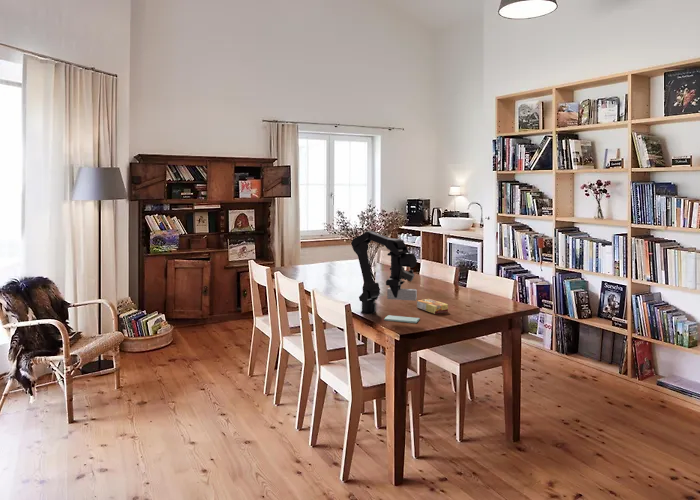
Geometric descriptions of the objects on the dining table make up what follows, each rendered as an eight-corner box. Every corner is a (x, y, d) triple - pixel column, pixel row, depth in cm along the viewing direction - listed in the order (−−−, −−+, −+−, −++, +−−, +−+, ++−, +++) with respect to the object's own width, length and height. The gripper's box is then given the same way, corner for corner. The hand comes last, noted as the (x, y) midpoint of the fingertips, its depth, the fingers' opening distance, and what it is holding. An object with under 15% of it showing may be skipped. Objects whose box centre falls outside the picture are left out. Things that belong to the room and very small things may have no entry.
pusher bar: (387, 299, 264) (387, 288, 263) (388, 297, 267) (388, 287, 266) (415, 300, 260) (415, 290, 259) (416, 299, 263) (416, 289, 262)
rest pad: (384, 320, 263) (384, 318, 263) (388, 316, 270) (388, 315, 270) (416, 323, 258) (416, 321, 258) (419, 319, 265) (419, 318, 264)
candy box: (448, 312, 279) (429, 306, 292) (448, 304, 279) (429, 298, 292) (434, 314, 275) (416, 307, 288) (434, 306, 274) (416, 300, 287)
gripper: (408, 269, 251) (408, 302, 253) (416, 263, 268) (416, 294, 270) (385, 268, 254) (385, 300, 256) (395, 262, 272) (394, 292, 274)
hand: (396, 296), depth 264 cm, fingers closed on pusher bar, 3 cm apart
